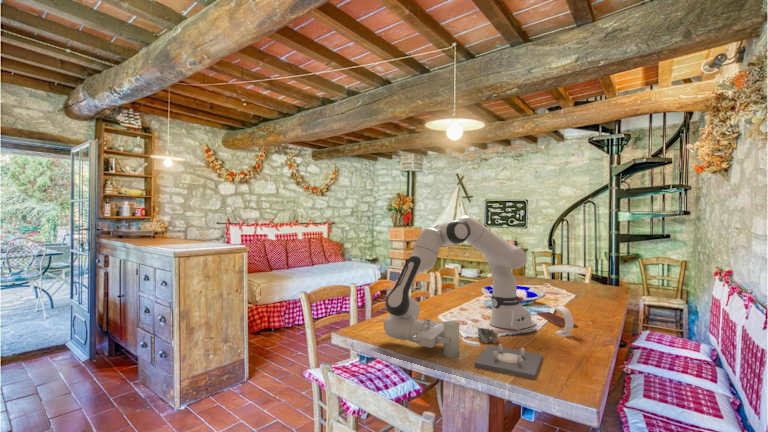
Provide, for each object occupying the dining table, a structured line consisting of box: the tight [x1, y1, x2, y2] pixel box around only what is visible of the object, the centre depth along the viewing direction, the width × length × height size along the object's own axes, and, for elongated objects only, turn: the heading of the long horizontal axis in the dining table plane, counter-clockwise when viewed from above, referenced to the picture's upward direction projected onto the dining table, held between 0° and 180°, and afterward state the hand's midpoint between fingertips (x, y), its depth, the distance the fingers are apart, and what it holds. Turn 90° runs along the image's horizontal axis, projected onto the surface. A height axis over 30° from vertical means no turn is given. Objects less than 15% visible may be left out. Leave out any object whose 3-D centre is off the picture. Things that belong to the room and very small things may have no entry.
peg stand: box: [474, 343, 543, 380], centre depth 133 cm, size 20×20×4 cm
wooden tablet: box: [536, 311, 579, 329], centre depth 186 cm, size 27×10×2 cm, turn 3°
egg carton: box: [477, 327, 499, 344], centre depth 158 cm, size 11×8×4 cm
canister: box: [442, 320, 460, 359], centre depth 140 cm, size 6×6×12 cm
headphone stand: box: [554, 305, 575, 338], centre depth 163 cm, size 5×6×12 cm
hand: (453, 337), depth 140 cm, fingers open, 7 cm apart
